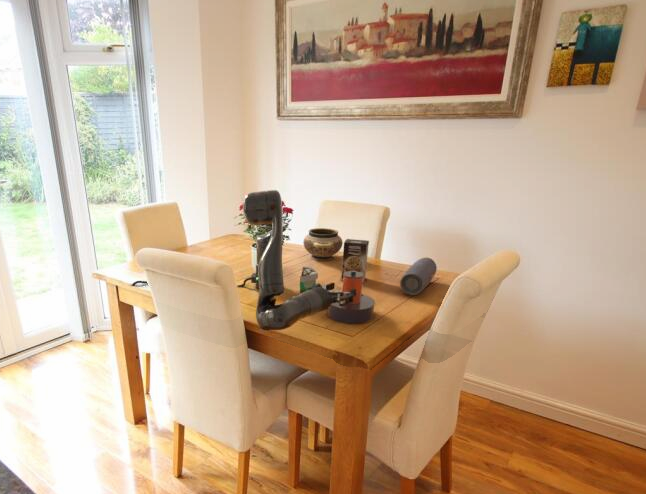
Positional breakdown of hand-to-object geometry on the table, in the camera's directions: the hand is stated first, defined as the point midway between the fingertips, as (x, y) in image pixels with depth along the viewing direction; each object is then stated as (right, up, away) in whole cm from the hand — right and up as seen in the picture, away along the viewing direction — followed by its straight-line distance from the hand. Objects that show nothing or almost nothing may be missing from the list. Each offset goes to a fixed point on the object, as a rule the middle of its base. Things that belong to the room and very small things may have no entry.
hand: (344, 288), depth 150 cm
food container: (-8, -2, +22) cm, 24 cm away
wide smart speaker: (+4, -8, +7) cm, 11 cm away
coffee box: (+13, +5, +39) cm, 41 cm away
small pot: (+3, -4, +5) cm, 7 cm away
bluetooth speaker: (+34, +1, +28) cm, 44 cm away
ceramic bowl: (+5, +17, +68) cm, 70 cm away
